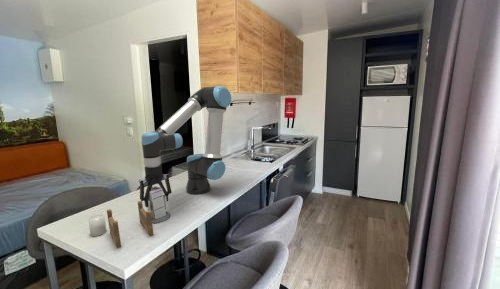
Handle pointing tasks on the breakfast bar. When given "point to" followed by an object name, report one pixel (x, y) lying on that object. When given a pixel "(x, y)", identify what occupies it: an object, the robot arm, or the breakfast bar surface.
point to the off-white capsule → (97, 225)
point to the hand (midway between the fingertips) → (157, 210)
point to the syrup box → (157, 203)
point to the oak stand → (144, 221)
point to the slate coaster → (161, 218)
